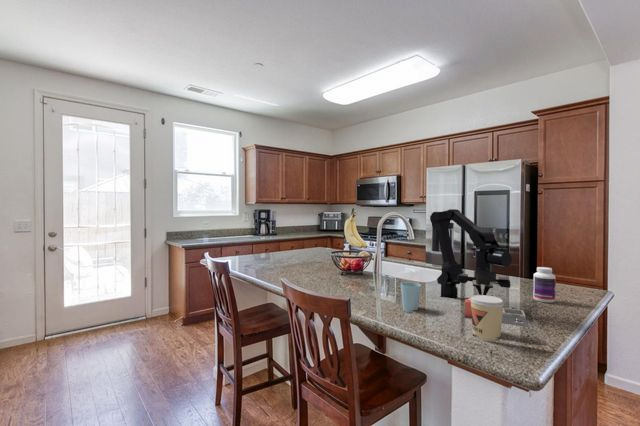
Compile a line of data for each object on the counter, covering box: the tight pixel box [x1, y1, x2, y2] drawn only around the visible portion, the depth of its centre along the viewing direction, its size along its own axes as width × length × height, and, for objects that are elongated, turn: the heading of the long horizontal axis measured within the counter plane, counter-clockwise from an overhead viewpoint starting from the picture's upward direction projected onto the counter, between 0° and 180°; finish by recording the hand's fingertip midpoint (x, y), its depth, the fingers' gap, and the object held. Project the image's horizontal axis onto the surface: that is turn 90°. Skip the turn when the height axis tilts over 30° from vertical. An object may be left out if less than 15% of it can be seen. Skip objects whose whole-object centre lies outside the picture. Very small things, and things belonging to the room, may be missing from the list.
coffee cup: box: [470, 294, 505, 342], centre depth 102 cm, size 9×9×12 cm
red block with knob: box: [464, 297, 472, 316], centre depth 120 cm, size 4×4×6 cm
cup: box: [400, 281, 422, 314], centre depth 127 cm, size 8×8×10 cm
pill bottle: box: [532, 266, 557, 304], centre depth 142 cm, size 8×8×14 cm
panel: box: [462, 306, 530, 328], centre depth 121 cm, size 20×20×2 cm
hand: (482, 301), depth 130 cm, fingers closed
